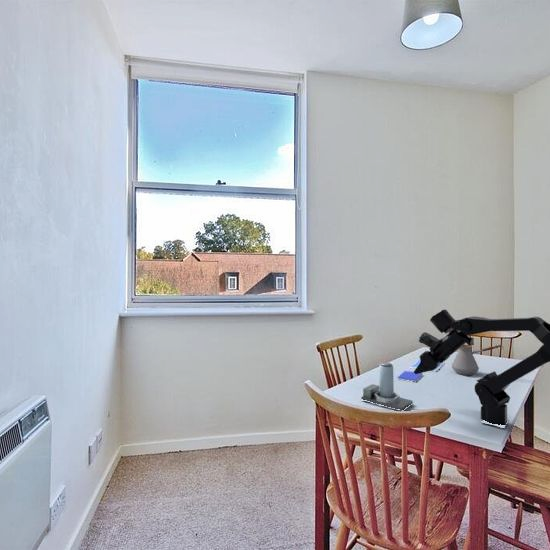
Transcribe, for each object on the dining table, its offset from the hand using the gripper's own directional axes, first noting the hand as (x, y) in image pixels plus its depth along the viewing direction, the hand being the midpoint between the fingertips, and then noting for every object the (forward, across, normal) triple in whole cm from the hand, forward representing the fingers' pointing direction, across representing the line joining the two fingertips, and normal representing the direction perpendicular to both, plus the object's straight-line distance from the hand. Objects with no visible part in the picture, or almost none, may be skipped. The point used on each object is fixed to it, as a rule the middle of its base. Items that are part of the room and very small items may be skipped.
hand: (418, 370), depth 133 cm
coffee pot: (+2, -52, +16) cm, 55 cm away
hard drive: (+19, -30, 0) cm, 36 cm away
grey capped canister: (+15, +6, +1) cm, 16 cm away
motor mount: (+16, +6, +2) cm, 17 cm away
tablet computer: (+18, -55, 0) cm, 58 cm away
